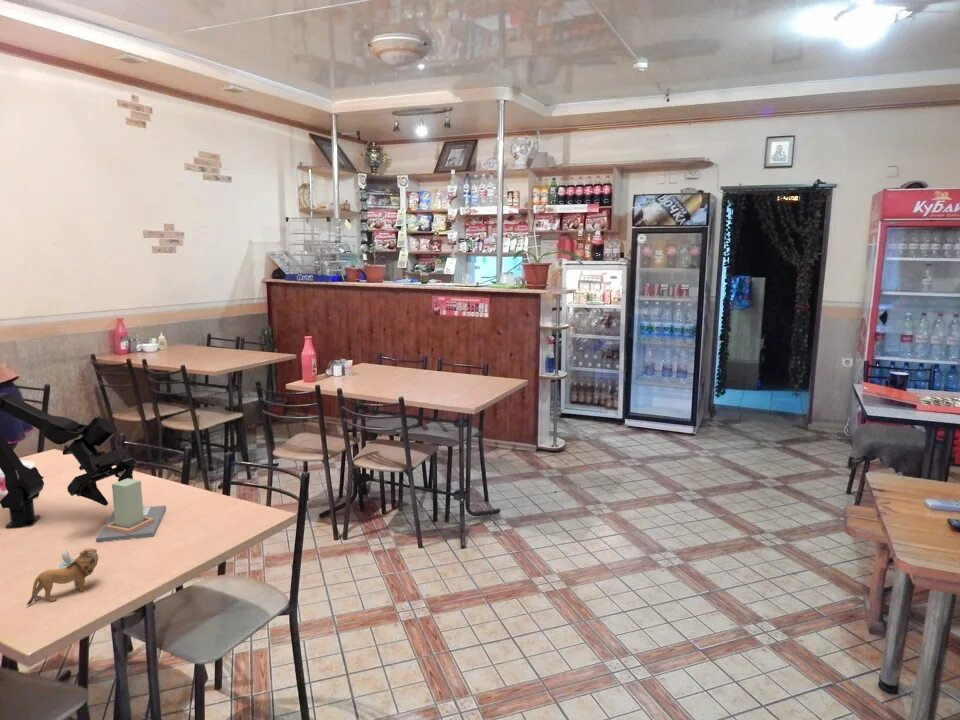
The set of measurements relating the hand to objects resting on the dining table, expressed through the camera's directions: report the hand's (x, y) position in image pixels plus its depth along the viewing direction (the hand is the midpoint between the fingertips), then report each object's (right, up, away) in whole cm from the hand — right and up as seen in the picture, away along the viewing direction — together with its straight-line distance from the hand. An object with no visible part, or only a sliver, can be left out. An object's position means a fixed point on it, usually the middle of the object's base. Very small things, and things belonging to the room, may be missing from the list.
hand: (121, 498), depth 175 cm
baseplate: (+1, -8, +4) cm, 9 cm away
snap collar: (+2, -8, +1) cm, 8 cm away
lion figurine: (+6, -15, -32) cm, 35 cm away
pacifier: (+2, -13, -23) cm, 27 cm away
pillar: (+2, -8, +1) cm, 8 cm away
